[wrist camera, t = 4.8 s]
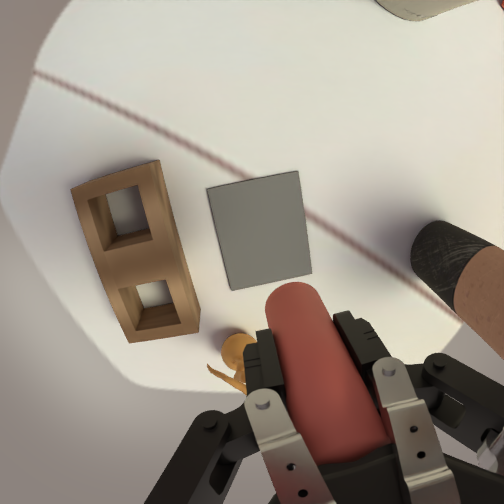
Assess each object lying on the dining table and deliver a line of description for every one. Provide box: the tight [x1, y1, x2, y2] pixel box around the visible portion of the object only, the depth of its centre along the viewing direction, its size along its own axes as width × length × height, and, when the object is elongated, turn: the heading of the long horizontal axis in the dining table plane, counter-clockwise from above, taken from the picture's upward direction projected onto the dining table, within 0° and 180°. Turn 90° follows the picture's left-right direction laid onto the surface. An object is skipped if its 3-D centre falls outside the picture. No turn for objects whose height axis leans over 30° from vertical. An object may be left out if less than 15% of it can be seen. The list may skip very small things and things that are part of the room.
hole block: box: [70, 160, 201, 343], centre depth 26 cm, size 15×7×4 cm, turn 11°
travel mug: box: [411, 221, 504, 360], centre depth 22 cm, size 8×8×20 cm
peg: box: [265, 282, 391, 466], centre depth 12 cm, size 3×3×10 cm
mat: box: [207, 171, 312, 291], centre depth 28 cm, size 10×8×1 cm
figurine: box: [207, 333, 257, 395], centre depth 27 cm, size 8×6×12 cm
